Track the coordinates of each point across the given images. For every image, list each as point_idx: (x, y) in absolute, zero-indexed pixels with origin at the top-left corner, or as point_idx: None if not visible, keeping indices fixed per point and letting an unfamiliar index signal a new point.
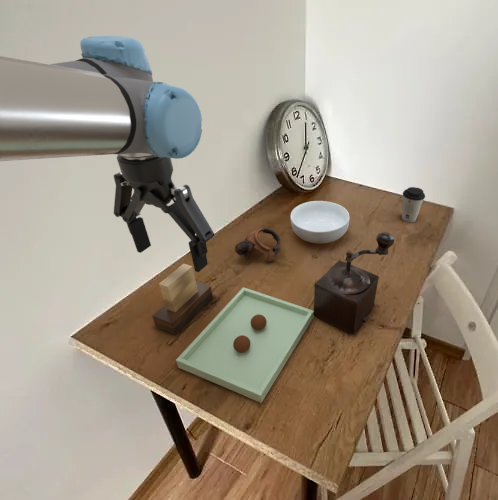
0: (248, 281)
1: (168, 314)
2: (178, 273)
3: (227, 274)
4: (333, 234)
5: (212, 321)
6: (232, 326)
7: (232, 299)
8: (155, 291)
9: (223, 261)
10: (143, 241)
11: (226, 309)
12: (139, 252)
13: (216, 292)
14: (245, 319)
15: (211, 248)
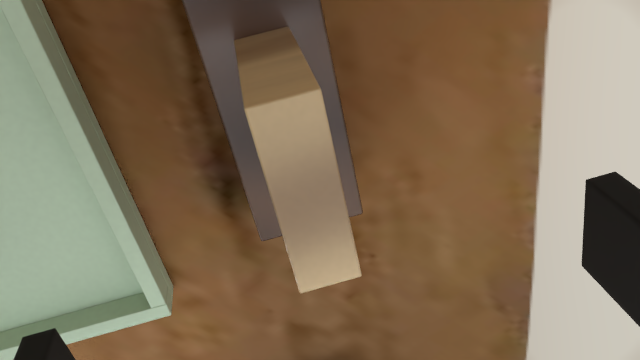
0: (224, 331)
1: (248, 10)
2: (307, 216)
3: (321, 304)
4: None
5: (72, 122)
6: (18, 160)
7: (137, 251)
8: (485, 73)
9: (392, 330)
10: (632, 270)
11: (99, 203)
12: (596, 177)
13: None
14: (19, 216)
15: (486, 339)
